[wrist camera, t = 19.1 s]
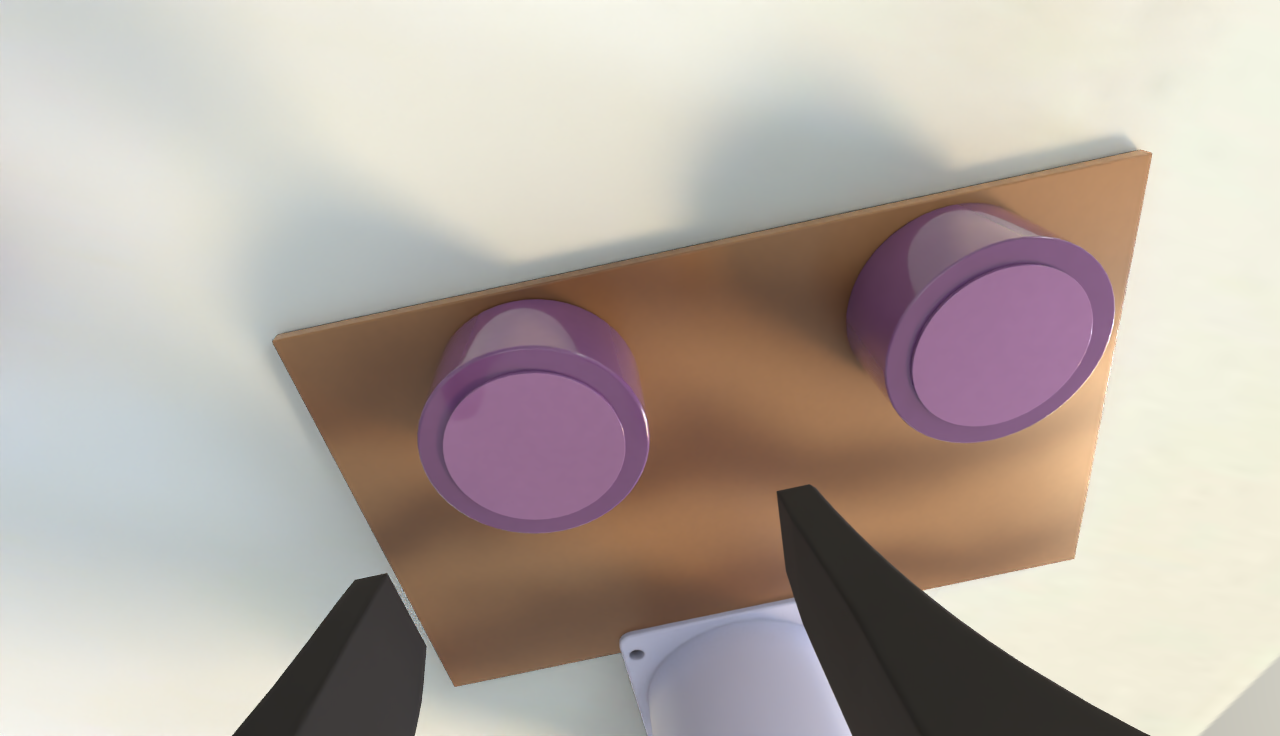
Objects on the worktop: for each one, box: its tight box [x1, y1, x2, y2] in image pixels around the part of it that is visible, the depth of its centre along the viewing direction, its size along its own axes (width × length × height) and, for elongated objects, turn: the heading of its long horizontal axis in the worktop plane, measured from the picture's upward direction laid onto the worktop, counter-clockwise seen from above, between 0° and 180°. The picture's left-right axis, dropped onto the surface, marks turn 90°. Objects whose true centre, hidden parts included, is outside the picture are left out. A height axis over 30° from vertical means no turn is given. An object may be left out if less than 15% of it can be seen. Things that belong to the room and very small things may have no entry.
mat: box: [272, 150, 1152, 687], centre depth 20 cm, size 14×22×1 cm, turn 101°
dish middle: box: [417, 299, 650, 534], centre depth 17 cm, size 5×5×3 cm
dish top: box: [846, 203, 1115, 443], centre depth 17 cm, size 5×5×3 cm
